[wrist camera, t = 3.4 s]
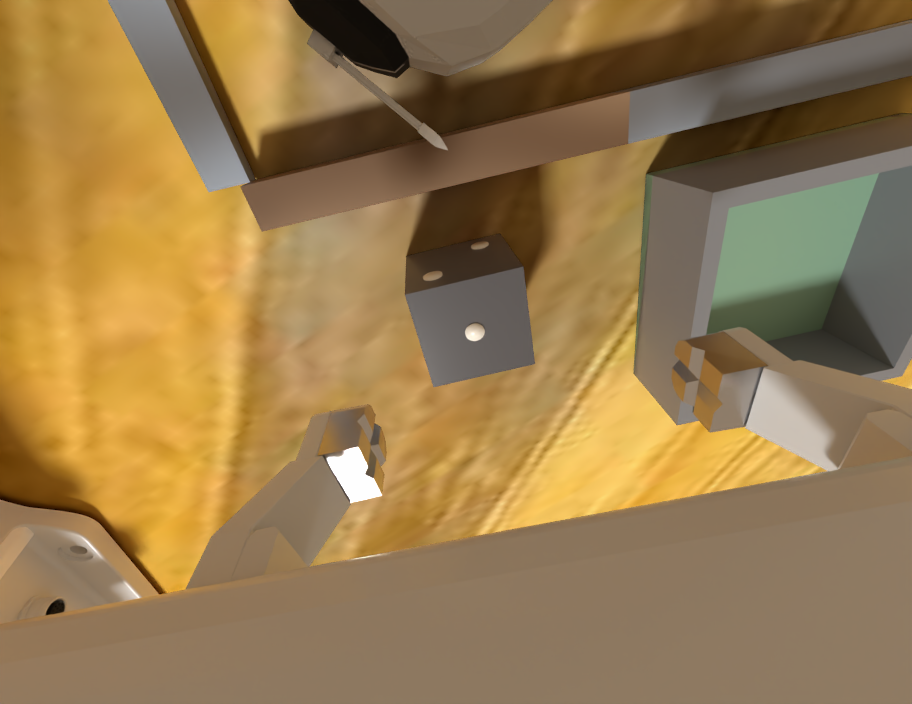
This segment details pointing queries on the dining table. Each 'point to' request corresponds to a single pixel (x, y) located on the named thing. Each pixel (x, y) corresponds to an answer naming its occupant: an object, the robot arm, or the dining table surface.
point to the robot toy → (413, 37)
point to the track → (495, 143)
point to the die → (469, 309)
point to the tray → (783, 254)
